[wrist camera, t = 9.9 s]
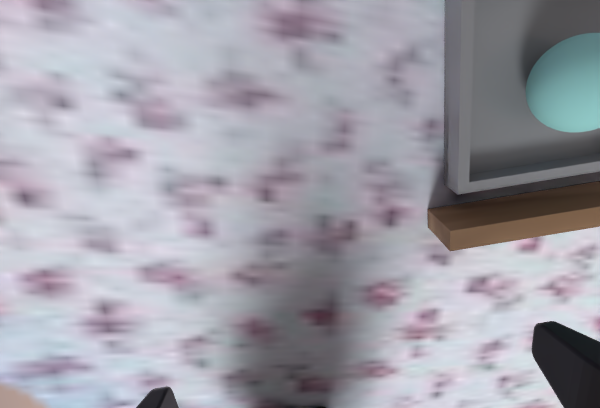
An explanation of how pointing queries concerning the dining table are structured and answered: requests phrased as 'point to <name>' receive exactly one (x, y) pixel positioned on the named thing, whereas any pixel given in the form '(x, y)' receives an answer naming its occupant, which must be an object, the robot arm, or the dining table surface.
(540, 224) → the rail
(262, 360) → the dining table surface
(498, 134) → the tray
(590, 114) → the ball
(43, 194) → the dining table surface
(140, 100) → the dining table surface
